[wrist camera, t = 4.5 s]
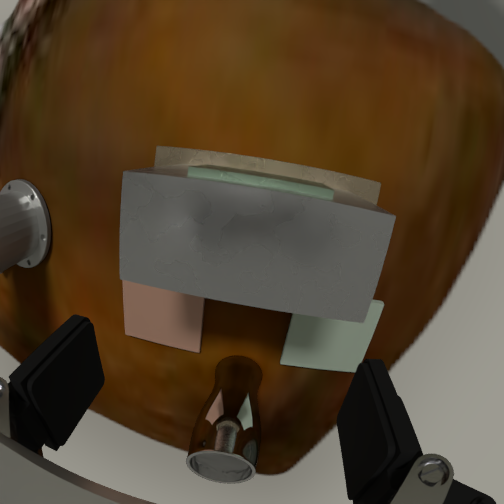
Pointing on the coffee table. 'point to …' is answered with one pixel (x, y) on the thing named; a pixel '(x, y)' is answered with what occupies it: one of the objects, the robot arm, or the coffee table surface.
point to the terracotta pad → (163, 316)
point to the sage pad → (329, 341)
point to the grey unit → (254, 232)
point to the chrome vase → (228, 424)
